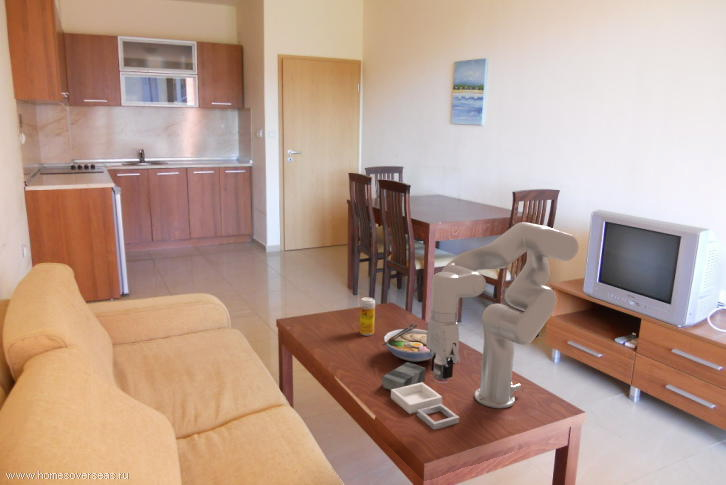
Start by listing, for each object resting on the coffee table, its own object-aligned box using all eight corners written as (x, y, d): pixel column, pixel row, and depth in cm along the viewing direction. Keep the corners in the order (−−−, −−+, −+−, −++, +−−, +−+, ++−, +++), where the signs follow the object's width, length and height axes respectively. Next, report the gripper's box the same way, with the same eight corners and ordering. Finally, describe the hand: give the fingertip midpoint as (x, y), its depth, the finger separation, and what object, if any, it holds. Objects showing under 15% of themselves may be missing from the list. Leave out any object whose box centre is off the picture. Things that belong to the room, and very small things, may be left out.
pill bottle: (430, 377, 164) (431, 351, 162) (443, 374, 166) (445, 348, 164) (438, 384, 160) (439, 357, 158) (452, 381, 161) (453, 355, 160)
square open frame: (440, 408, 171) (441, 403, 170) (458, 422, 163) (459, 417, 163) (416, 415, 167) (416, 409, 166) (434, 429, 159) (434, 424, 159)
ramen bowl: (424, 378, 191) (426, 356, 190) (369, 361, 204) (370, 340, 202) (455, 354, 212) (456, 334, 210) (403, 340, 224) (404, 321, 222)
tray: (421, 390, 182) (422, 382, 182) (441, 405, 173) (442, 396, 172) (390, 398, 177) (391, 389, 176) (409, 414, 167) (410, 405, 167)
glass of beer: (357, 335, 229) (358, 300, 225) (362, 330, 234) (363, 296, 231) (371, 337, 227) (372, 302, 224) (375, 331, 233) (376, 297, 229)
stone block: (378, 388, 184) (379, 373, 183) (404, 374, 195) (404, 360, 194) (400, 396, 178) (401, 381, 177) (425, 381, 189) (426, 367, 188)
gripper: (416, 308, 164) (414, 365, 168) (452, 327, 149) (449, 389, 153) (437, 304, 167) (435, 360, 171) (473, 322, 153) (470, 383, 157)
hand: (441, 373), depth 162 cm, fingers closed on pill bottle, 4 cm apart
